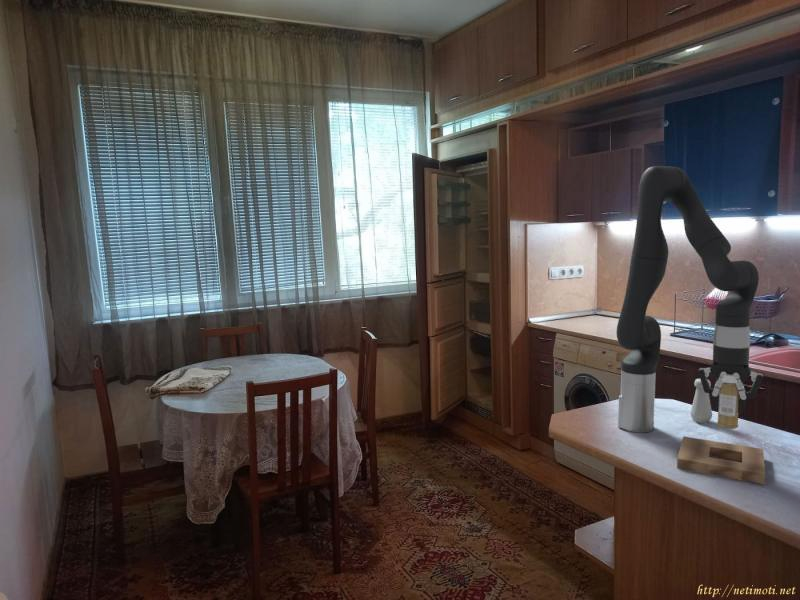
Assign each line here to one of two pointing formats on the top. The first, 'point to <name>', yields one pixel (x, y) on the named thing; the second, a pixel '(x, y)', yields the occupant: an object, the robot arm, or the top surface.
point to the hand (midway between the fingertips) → (728, 411)
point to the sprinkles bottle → (728, 403)
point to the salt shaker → (701, 404)
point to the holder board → (698, 459)
